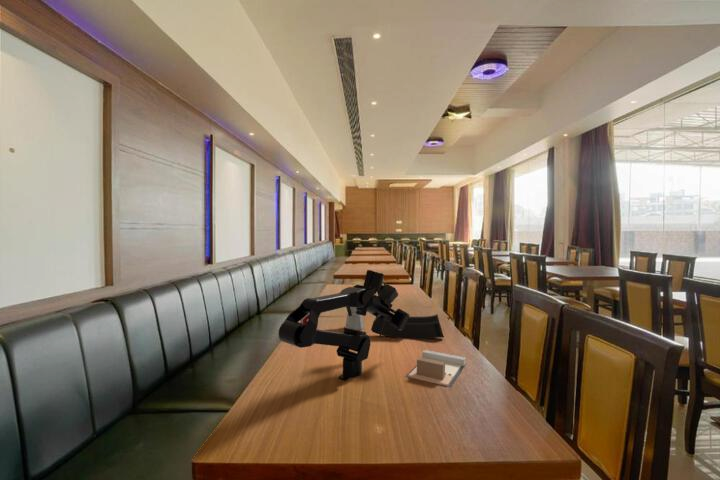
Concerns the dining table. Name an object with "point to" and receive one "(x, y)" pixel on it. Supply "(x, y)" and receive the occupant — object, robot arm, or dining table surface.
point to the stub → (431, 372)
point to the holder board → (444, 358)
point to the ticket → (451, 369)
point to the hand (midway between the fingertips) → (396, 315)
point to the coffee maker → (354, 319)
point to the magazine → (410, 328)
